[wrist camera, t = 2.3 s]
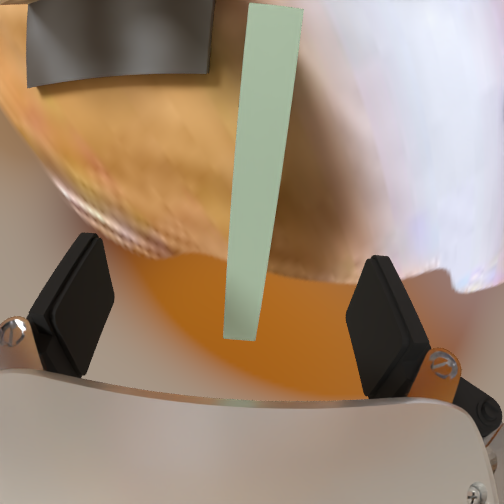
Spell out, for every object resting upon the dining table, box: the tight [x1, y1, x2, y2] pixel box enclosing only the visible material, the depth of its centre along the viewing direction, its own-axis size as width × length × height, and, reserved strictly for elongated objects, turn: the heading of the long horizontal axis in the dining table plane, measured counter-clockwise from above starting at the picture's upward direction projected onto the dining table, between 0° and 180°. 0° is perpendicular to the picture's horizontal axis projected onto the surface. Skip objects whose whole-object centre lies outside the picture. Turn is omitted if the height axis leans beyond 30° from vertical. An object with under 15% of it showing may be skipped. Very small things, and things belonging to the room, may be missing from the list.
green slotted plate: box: [223, 3, 304, 341], centre depth 19 cm, size 18×2×12 cm, turn 174°
